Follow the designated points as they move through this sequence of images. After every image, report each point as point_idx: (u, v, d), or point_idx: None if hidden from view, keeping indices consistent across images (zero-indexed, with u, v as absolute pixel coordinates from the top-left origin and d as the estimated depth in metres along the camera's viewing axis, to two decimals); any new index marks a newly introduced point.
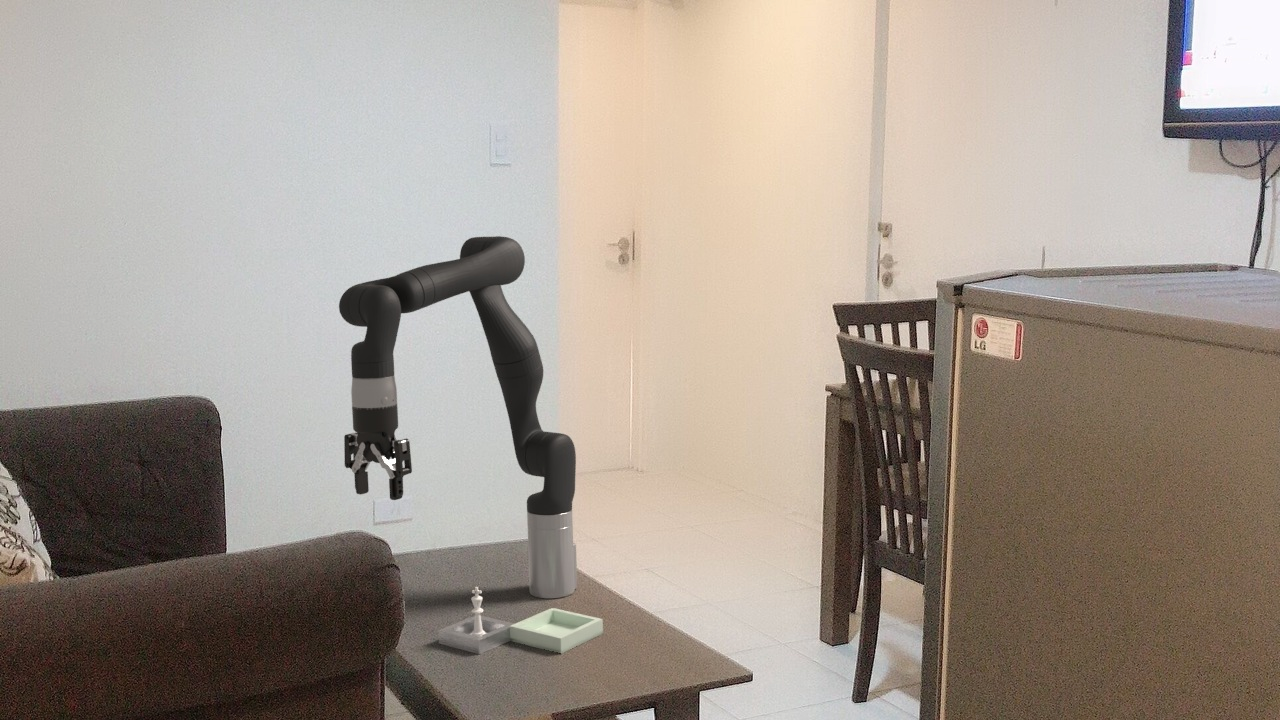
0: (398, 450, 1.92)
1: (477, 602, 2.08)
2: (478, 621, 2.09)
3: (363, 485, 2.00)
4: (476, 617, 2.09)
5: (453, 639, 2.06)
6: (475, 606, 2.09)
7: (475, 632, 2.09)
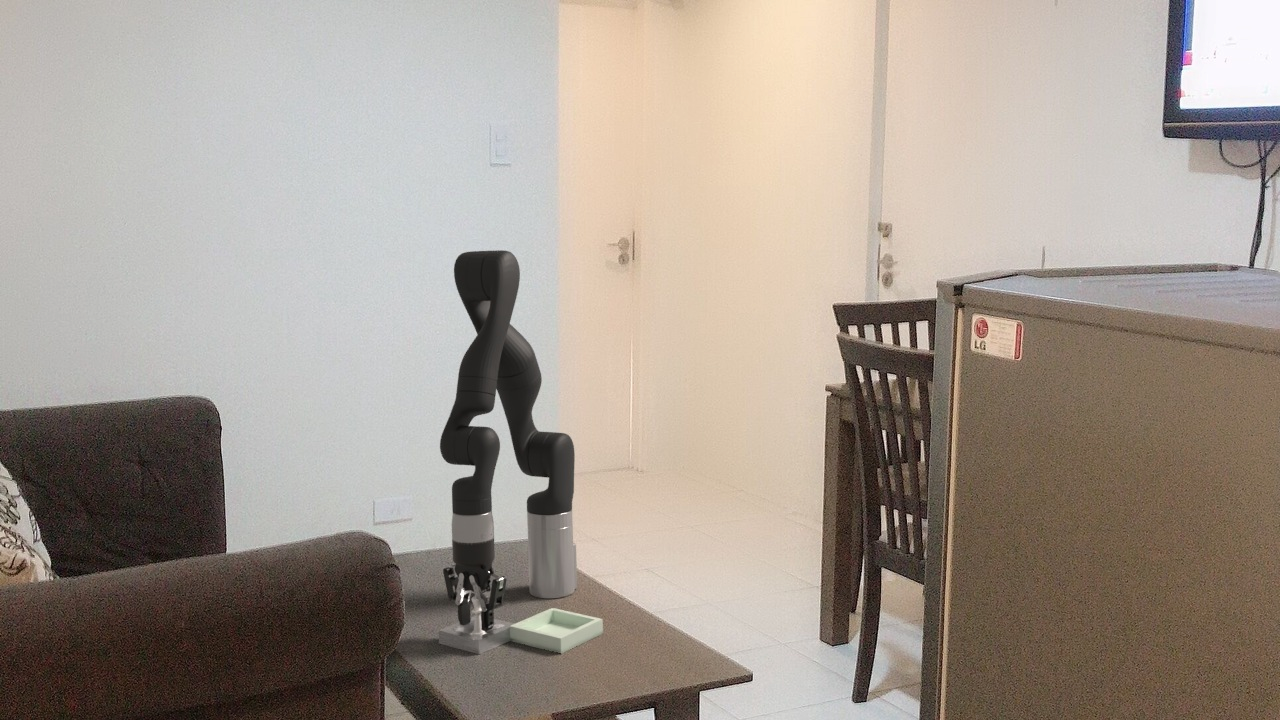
0: (495, 588, 2.04)
1: (477, 602, 2.08)
2: (478, 621, 2.09)
3: (466, 617, 2.11)
4: (476, 617, 2.09)
5: (453, 639, 2.06)
6: (475, 606, 2.09)
7: (475, 632, 2.09)
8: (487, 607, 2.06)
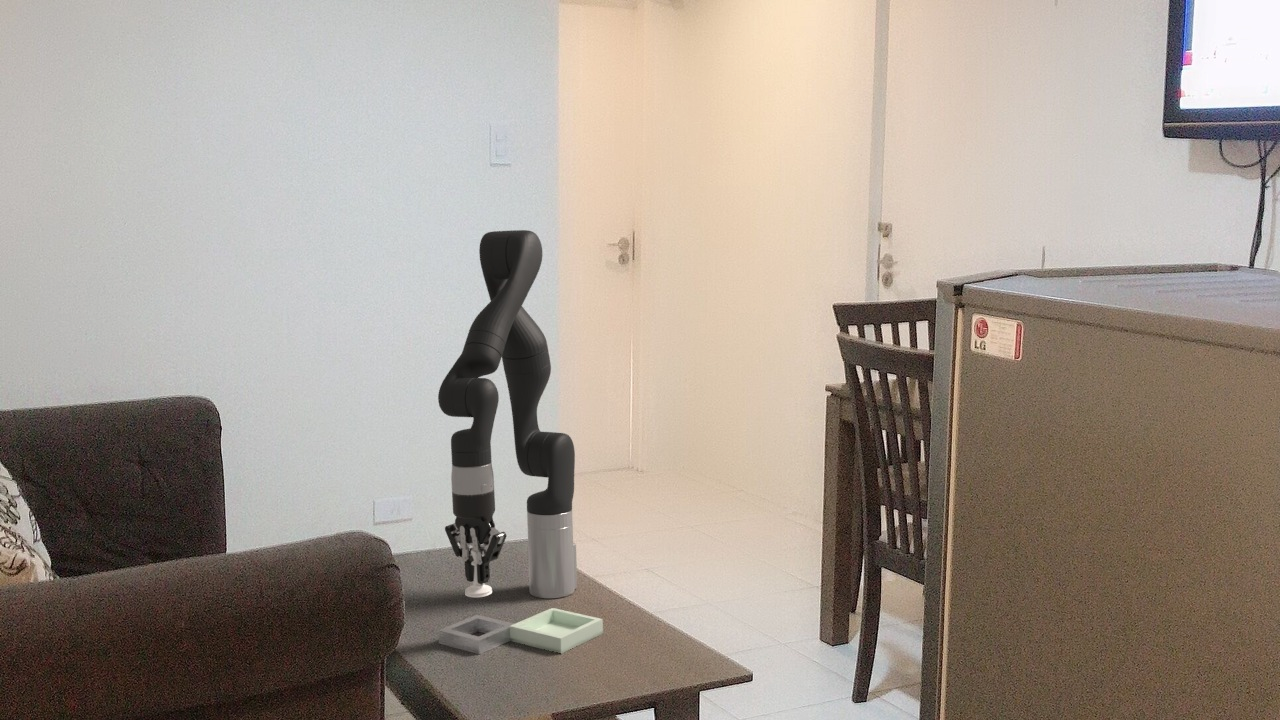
0: (494, 544, 2.04)
1: None
2: None
3: (473, 573, 2.09)
4: (476, 569, 2.08)
5: (453, 639, 2.06)
6: (474, 559, 2.08)
7: (475, 584, 2.08)
8: (483, 560, 2.06)
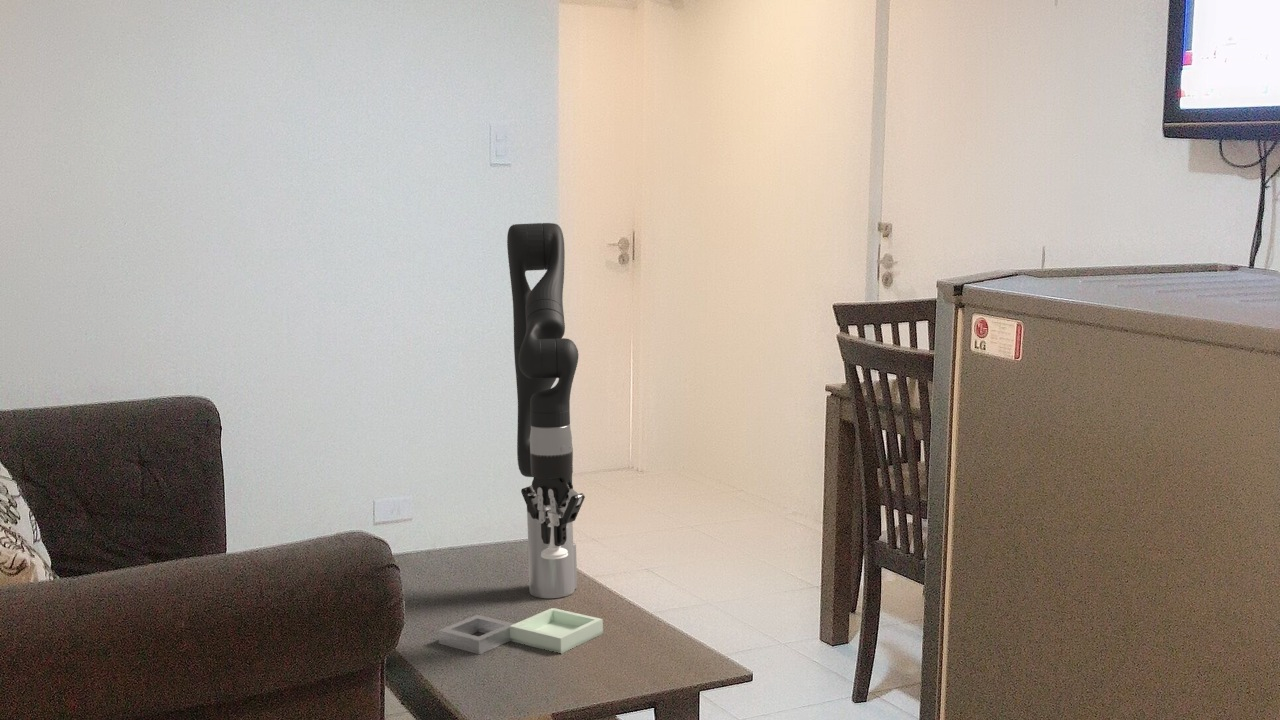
0: (573, 505, 2.04)
1: None
2: None
3: (549, 535, 2.09)
4: (552, 531, 2.08)
5: (453, 639, 2.06)
6: (551, 520, 2.08)
7: (551, 546, 2.08)
8: (560, 521, 2.06)
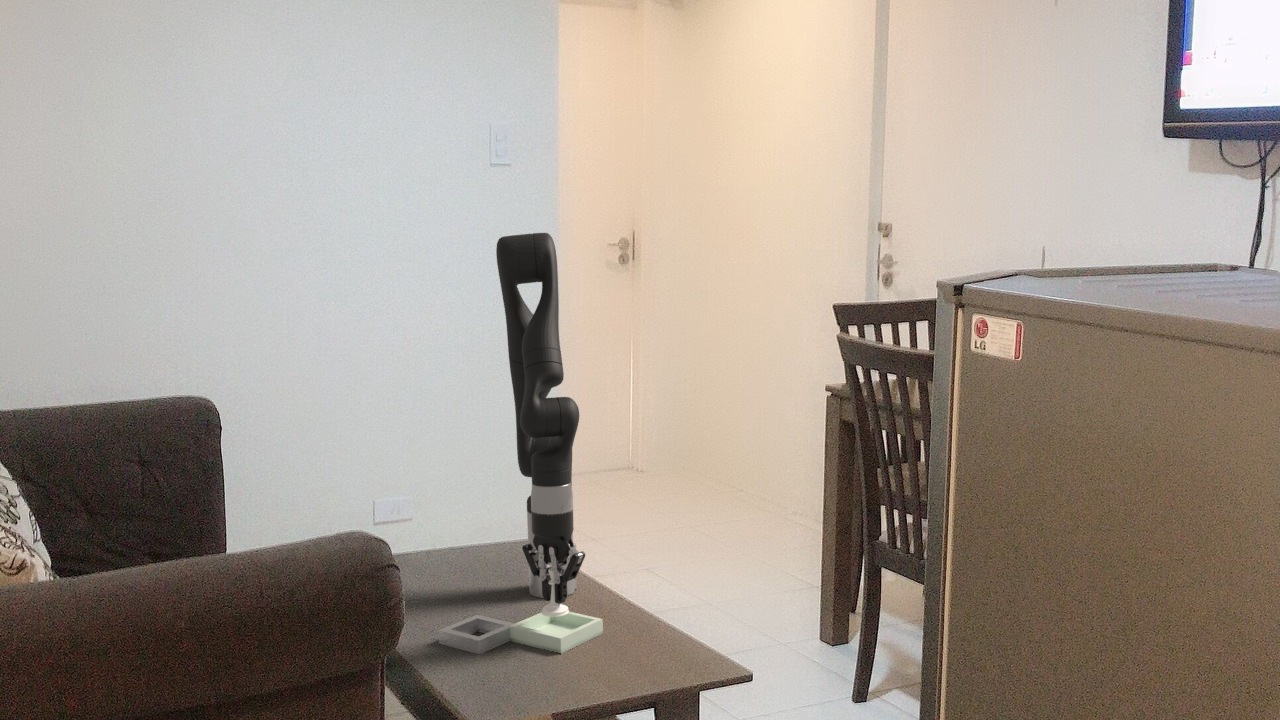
0: (573, 563, 2.05)
1: None
2: None
3: (550, 592, 2.10)
4: (553, 589, 2.09)
5: (453, 639, 2.06)
6: (552, 578, 2.09)
7: (552, 604, 2.09)
8: (561, 579, 2.07)
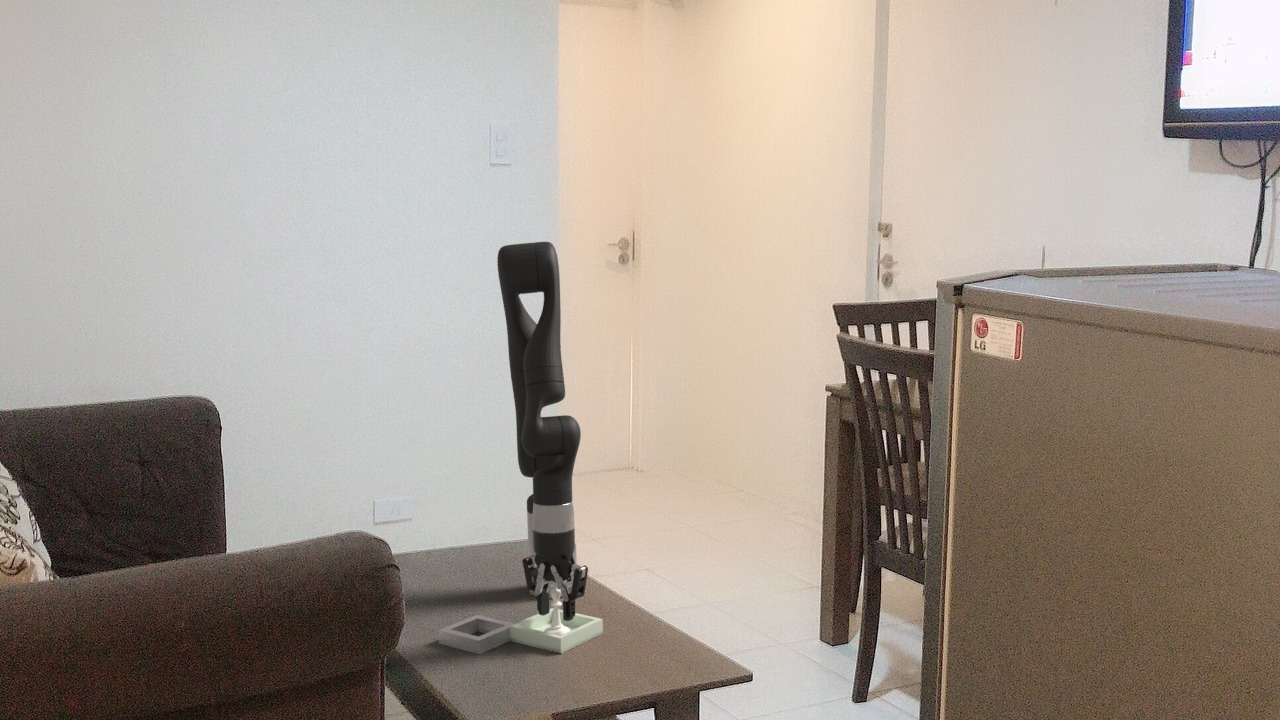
0: (578, 578, 2.05)
1: (556, 595, 2.09)
2: (557, 614, 2.10)
3: (545, 607, 2.12)
4: (555, 610, 2.10)
5: (453, 639, 2.06)
6: (554, 600, 2.09)
7: (554, 625, 2.10)
8: (569, 597, 2.07)
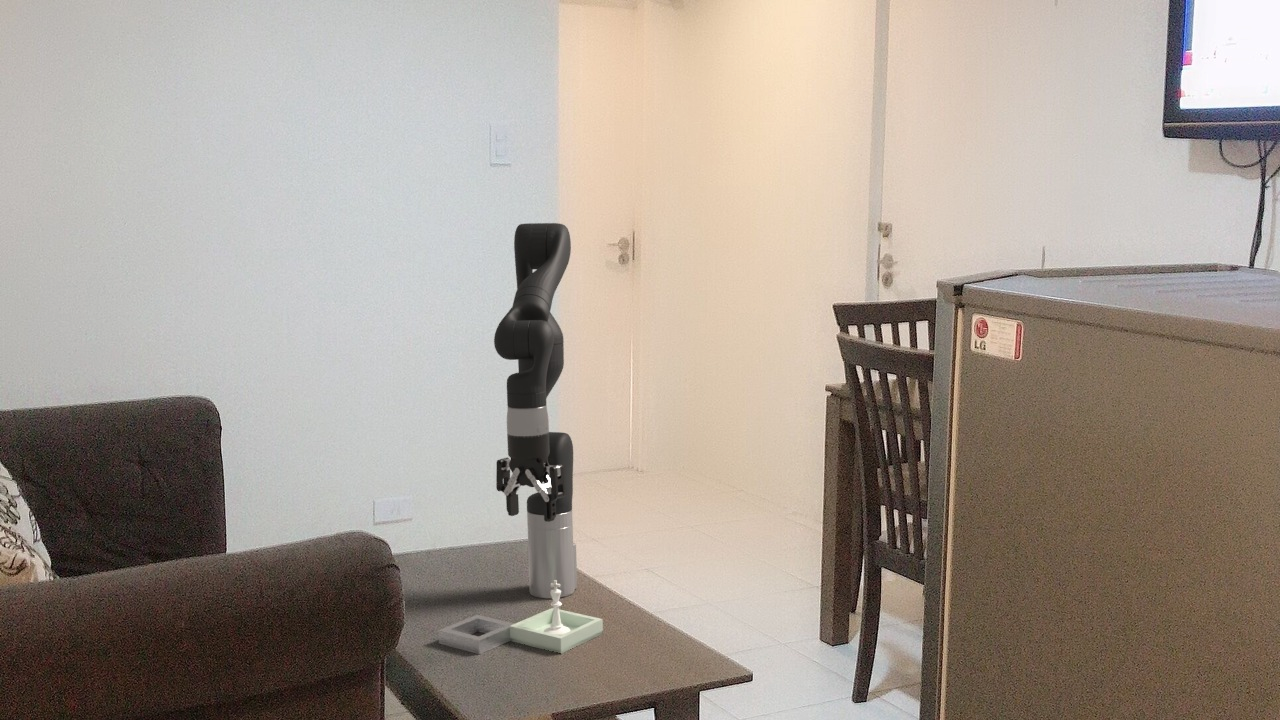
0: (554, 475, 2.05)
1: (556, 595, 2.09)
2: (557, 614, 2.10)
3: (514, 507, 2.13)
4: (555, 610, 2.10)
5: (453, 639, 2.06)
6: (554, 600, 2.09)
7: (554, 625, 2.10)
8: (550, 497, 2.06)
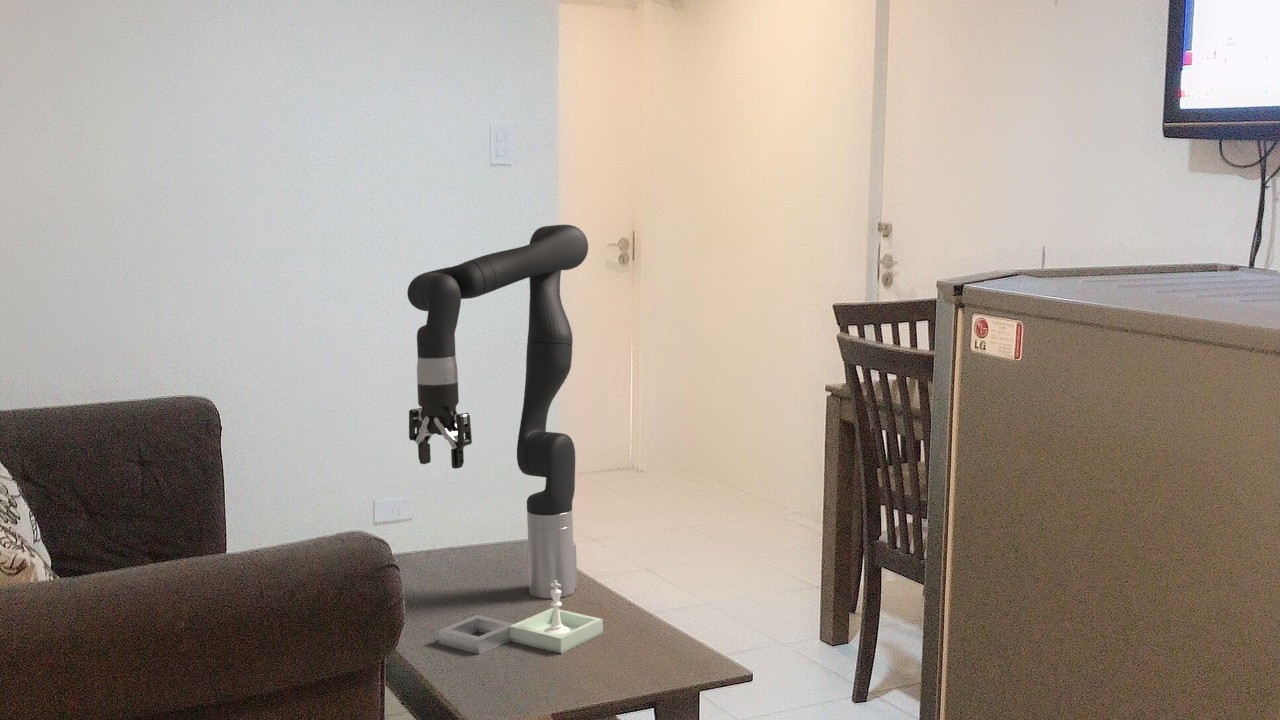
0: (460, 423, 2.12)
1: (556, 595, 2.09)
2: (557, 614, 2.10)
3: (426, 456, 2.20)
4: (555, 610, 2.10)
5: (453, 639, 2.06)
6: (554, 600, 2.09)
7: (554, 625, 2.10)
8: (457, 444, 2.14)
